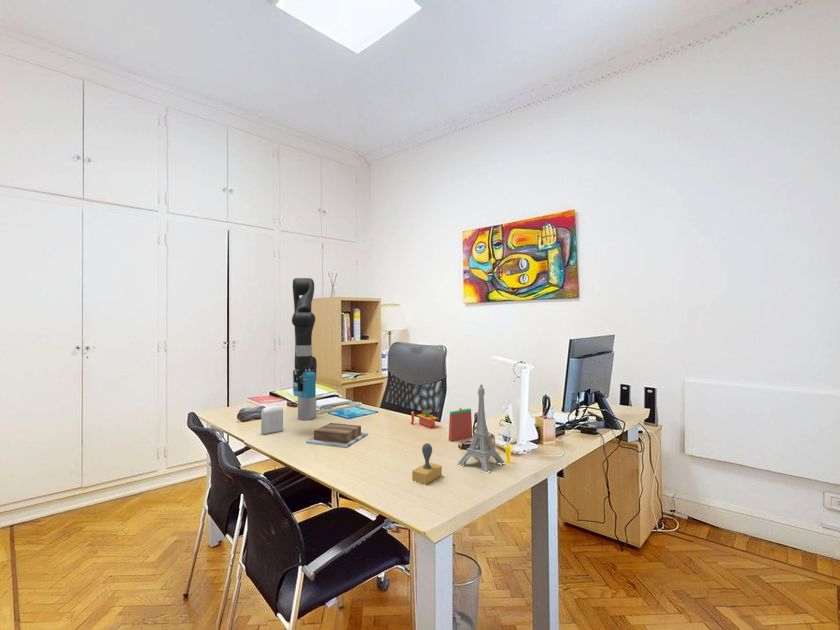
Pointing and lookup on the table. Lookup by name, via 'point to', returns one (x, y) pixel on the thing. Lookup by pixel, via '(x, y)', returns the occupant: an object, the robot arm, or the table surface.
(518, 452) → the table surface
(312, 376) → the data package
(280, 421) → the photo printer
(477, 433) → the eiffel tower
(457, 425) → the toy building block set
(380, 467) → the table surface
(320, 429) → the base
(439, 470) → the rubber stamp
